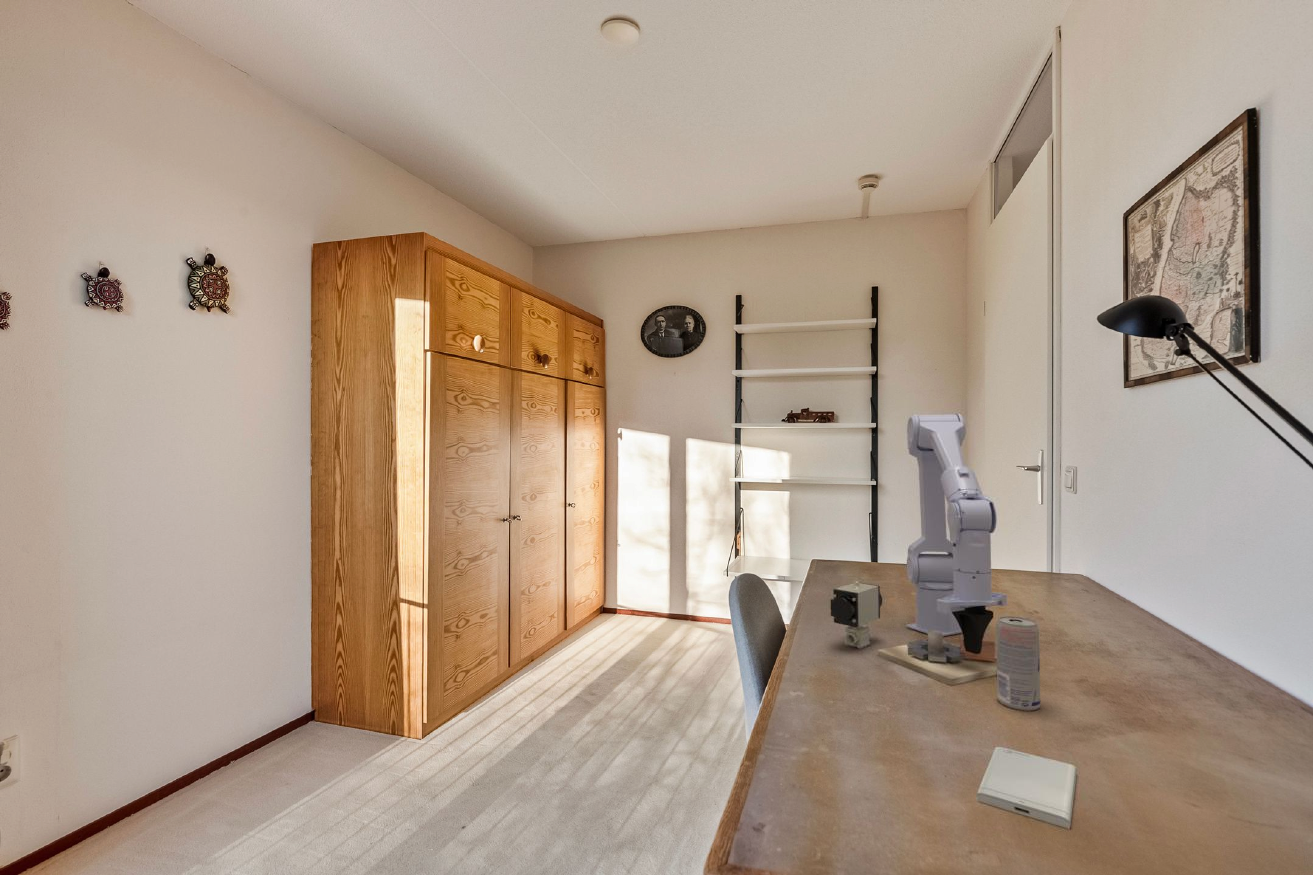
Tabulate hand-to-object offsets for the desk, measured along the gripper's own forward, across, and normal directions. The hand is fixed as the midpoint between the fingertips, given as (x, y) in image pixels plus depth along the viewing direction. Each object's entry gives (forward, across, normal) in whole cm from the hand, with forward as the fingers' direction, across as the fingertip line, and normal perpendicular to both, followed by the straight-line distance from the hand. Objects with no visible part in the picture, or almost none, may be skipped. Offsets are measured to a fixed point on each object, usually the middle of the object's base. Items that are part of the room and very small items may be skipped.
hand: (973, 652), depth 103 cm
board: (+3, -2, +5) cm, 6 cm away
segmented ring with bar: (+2, -1, +4) cm, 4 cm away
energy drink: (+3, -6, -12) cm, 14 cm away
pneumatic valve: (+3, -8, +19) cm, 21 cm away
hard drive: (+4, -26, -27) cm, 38 cm away
